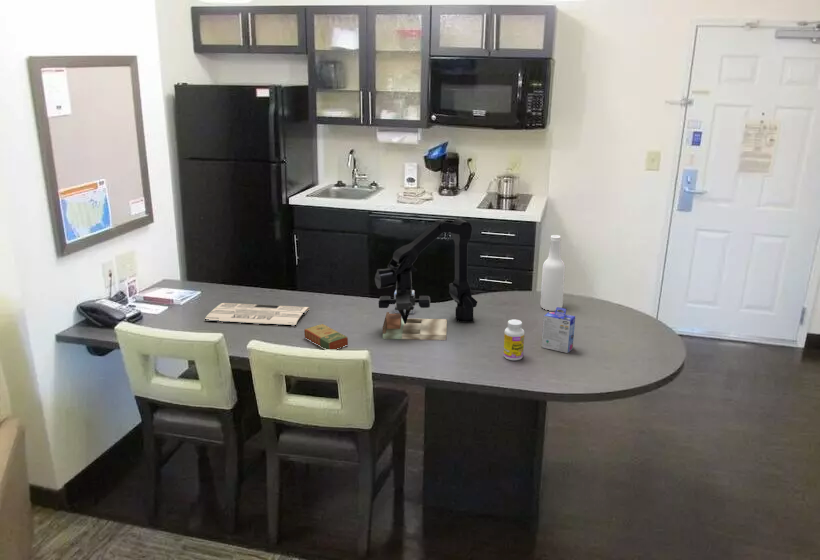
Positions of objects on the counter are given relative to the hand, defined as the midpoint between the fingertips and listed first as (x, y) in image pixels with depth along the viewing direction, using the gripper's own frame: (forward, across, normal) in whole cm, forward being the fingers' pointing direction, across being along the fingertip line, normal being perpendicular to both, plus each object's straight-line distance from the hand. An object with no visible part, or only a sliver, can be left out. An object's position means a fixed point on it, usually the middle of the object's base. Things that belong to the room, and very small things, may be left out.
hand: (405, 323), depth 249 cm
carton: (+3, -28, -11) cm, 30 cm away
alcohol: (+4, +57, +26) cm, 63 cm away
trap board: (+3, +4, 0) cm, 5 cm away
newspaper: (+3, -59, +12) cm, 61 cm away
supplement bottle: (+4, +38, -21) cm, 44 cm away
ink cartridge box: (+4, +54, -13) cm, 56 cm away
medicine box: (+3, -2, +20) cm, 20 cm away
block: (+1, -4, 0) cm, 4 cm away
